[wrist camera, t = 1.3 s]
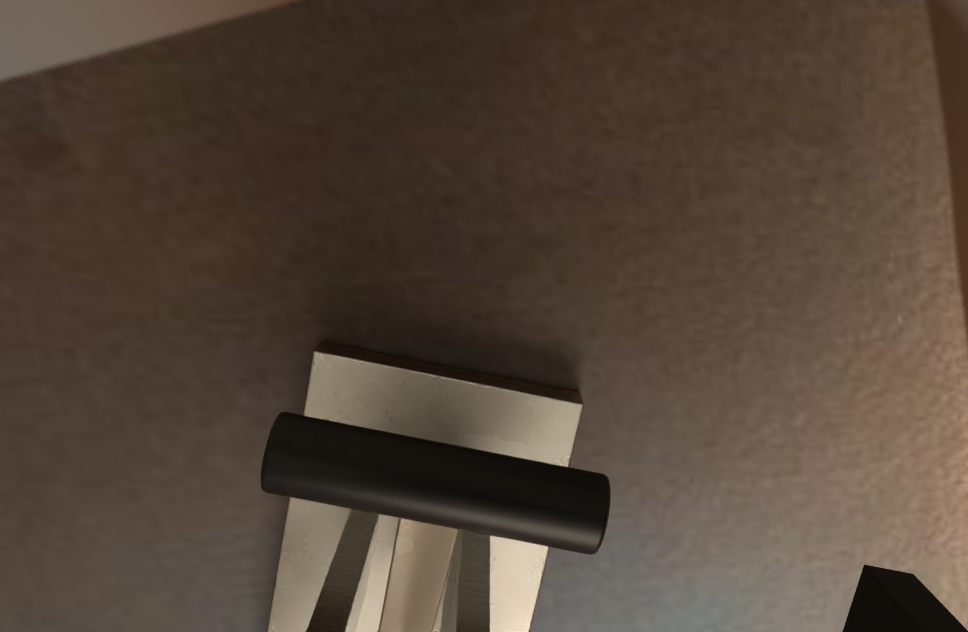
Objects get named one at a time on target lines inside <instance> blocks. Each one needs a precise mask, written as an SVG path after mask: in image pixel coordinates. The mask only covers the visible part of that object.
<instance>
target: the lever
mask: <svg viewBox="0 0 968 632" xmlns="http://www.w3.org/2000/svg"><path fill="white" fill-rule="evenodd" d="M261 487H262V490H263V491H265V492H266V493H271V494H276V495H281V496H287V497H292V498H297V499H302V500H307V501H313V502H318V503H323V504H328V505H334V506H339V507H344V508H349V509H354V510H360V511H365V512H370V513H375V514H380V515H386V516H391V517H396V518H399V520H398V526H397V531H396V537H395V542H394V548H393V553H392V559H391V564H390V569H389V575H388V580H387V586H386V591H385V597H384V602H383V608H382V613H381V619H380V624H379V630H378V632H432V631H433V627H434V624H435V620H436V616H437V612H438V608H439V605H440V601H441V597H442V593H443V589H444V586H445V582H446V578H447V574H448V570H449V567H450V563H451V559H452V555H453V551H454V548H455V544H456V540H457V536H458V532H459V530H464V531H469V532H474V533H480V534H485V535H490V536H495V537H500V538H506V539H511V540H516V541H521V542H527V543H532V544H537V545H542V546H547V547H553V548H558V549H563V550H568V551H574V552H579V553H584V554H589V555H591V554H595V553H596V552H597V551H598V549H599V547H600V546H601V543H602V541H603V538H604V535H605V531H606V527H607V522H608V517H609V509H610V484H609V479H608V477H607V476H606V475H604V474H601V473H596V472H590V471H585V470H580V469H575V468H570V467H565V466H560V465H555V464H549V463H544V462H539V461H534V460H529V459H524V458H519V457H514V456H508V455H503V454H498V453H493V452H488V451H483V450H478V449H473V448H467V447H462V446H457V445H452V444H447V443H442V442H437V441H432V440H426V439H421V438H416V437H411V436H406V435H401V434H396V433H390V432H385V431H380V430H375V429H370V428H365V427H360V426H355V425H349V424H344V423H339V422H334V421H329V420H324V419H319V418H314V417H308V416H303V415H298V414H293V413H288V412H282V413H280V414H279V415H278V417H277V418H276V420H275V422H274V424H273V426H272V428H271V431H270V434H269V437H268V441H267V444H266V448H265V452H264V457H263V462H262V469H261Z"/></svg>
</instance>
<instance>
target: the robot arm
mask: <svg viewBox="0 0 968 632" xmlns="http://www.w3.org/2000/svg"><path fill="white" fill-rule="evenodd" d="M843 632H968V631H967V630H966V629H965V628H964V627H963V625H962V624H961V623H960V622H959V621H958V620H957V619H956V618H955V617H954V616H953V615H952V614H951V613H950V612H949V611H948V610H947V609H946V608H945V607H944V606H943V605H942V604H941V603H940V601H939V600H938V599H937V598H936V597H935V596H934V595H933V594H932V593H931V592H930V591H929V590H928V589H927V588H926V587H925V586H924V585H923V584H922V583H921V582H920V581H919V580H918V579H917V578H916V576H915V575H914V574H910V573H905V572H900V571H894V570H889V569H884V568H879V567H874V566H868V565H864V567H863V570H862V573H861V576H860V580H859V583H858V586H857V589H856V592H855V595H854V598H853V601H852V604H851V607H850V611H849V614H848V617H847V620H846V623H845V626H844V629H843Z"/></svg>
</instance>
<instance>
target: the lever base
mask: <svg viewBox="0 0 968 632" xmlns="http://www.w3.org/2000/svg"><path fill="white" fill-rule="evenodd" d="M583 407H584V404H583V401H582V398H581V395H580V393H579V392H576V391H571V390H566V389H561V388H556V387H551V386H546V385H541V384H536V383H530V382H525V381H520V380H515V379H510V378H505V377H500V376H495V375H490V374H485V373H480V372H475V371H470V370H465V369H460V368H455V367H450V366H445V365H440V364H435V363H430V362H425V361H420V360H414V359H409V358H404V357H399V356H394V355H389V354H384V353H379V352H374V351H369V350H364V349H359V348H354V347H349V346H344V345H339V344H334V343H329V342H324V341H322V342H321V343H320V344H319V345H318V347H317V348H316V349H315V350H314V352H313V357H312V363H311V369H310V375H309V381H308V387H307V393H306V399H305V405H304V411H303V416H308V417H314V418H319V419H324V420H329V421H334V422H339V423H344V424H349V425H355V426H360V427H365V428H370V429H375V430H380V431H385V432H390V433H396V434H401V435H406V436H411V437H416V438H421V439H426V440H432V441H437V442H442V443H447V444H452V445H457V446H462V447H467V448H473V449H478V450H483V451H488V452H493V453H498V454H503V455H508V456H514V457H519V458H524V459H529V460H534V461H539V462H544V463H549V464H555V465H560V466H565V467H569V465H570V461H571V457H572V453H573V448H574V444H575V440H576V436H577V432H578V428H579V423H580V419H581V415H582V411H583ZM398 520H399V518H396V517H391V516H386V515H380V514H375V513H370V512H365V511H360V510H354V509H349V508H344V507H339V506H334V505H328V504H323V503H318V502H313V501H307V500H302V499H297V498H292V497H289V502H288V508H287V514H286V520H285V526H284V532H283V538H282V544H281V550H280V556H279V562H278V568H277V574H276V580H275V586H274V592H273V598H272V604H271V610H270V616H269V622H268V628H267V632H378V630H379V624H380V619H381V613H382V608H383V602H384V597H385V591H386V586H387V580H388V575H389V569H390V564H391V559H392V553H393V548H394V542H395V537H396V531H397V526H398ZM549 549H550V547H547V546H542V545H537V544H532V543H527V542H521V541H516V540H511V539H506V538H500V537H495V536H490V535H485V534H480V533H474V532H469V531H464V530H459V532H458V536H457V540H456V544H455V548H454V551H453V555H452V559H451V563H450V567H449V570H448V574H447V578H446V582H445V586H444V589H443V593H442V597H441V601H440V605H439V608H438V612H437V616H436V620H435V624H434V627H433V631H432V632H530V628H531V624H532V620H533V616H534V611H535V607H536V603H537V599H538V595H539V591H540V586H541V582H542V578H543V574H544V570H545V565H546V561H547V557H548V553H549Z"/></svg>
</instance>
